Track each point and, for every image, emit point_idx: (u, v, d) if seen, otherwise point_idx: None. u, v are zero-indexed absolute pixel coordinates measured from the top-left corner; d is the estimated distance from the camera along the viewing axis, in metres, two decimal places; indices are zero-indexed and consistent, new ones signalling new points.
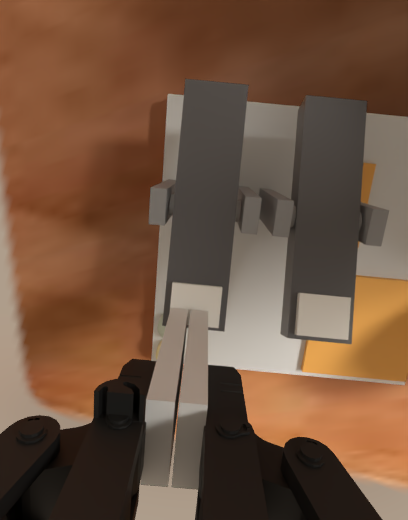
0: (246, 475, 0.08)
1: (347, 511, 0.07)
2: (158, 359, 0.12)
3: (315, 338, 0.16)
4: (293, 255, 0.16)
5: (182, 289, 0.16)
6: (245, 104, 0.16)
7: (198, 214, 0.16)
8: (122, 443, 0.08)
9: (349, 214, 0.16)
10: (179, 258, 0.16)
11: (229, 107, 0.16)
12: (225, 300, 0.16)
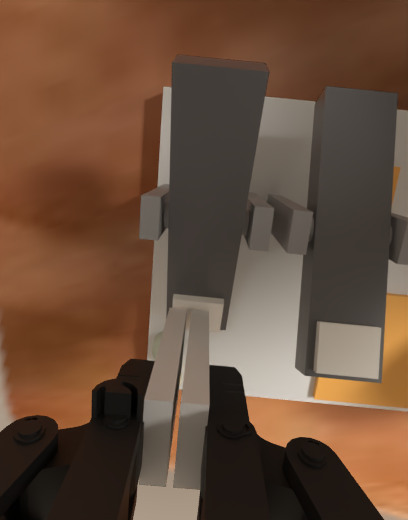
0: (248, 475, 0.08)
1: (349, 511, 0.07)
2: (156, 359, 0.12)
3: (338, 376, 0.13)
4: (311, 276, 0.14)
5: (182, 304, 0.16)
6: (262, 103, 0.11)
7: (197, 236, 0.14)
8: (120, 443, 0.08)
9: (378, 227, 0.14)
10: (178, 275, 0.15)
11: (238, 108, 0.11)
12: (227, 308, 0.16)
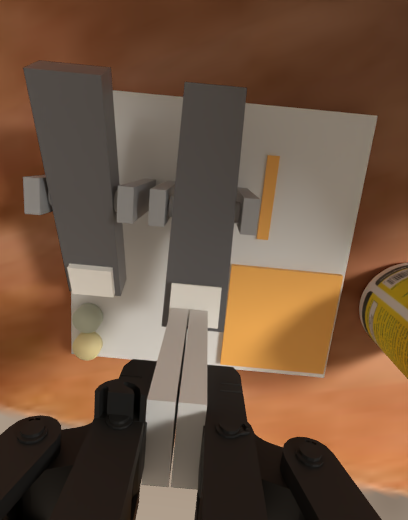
0: (245, 475, 0.08)
1: (346, 511, 0.07)
2: (159, 359, 0.12)
3: None
4: (169, 246, 0.16)
5: (76, 272, 0.19)
6: (101, 100, 0.14)
7: (77, 212, 0.17)
8: (123, 443, 0.08)
9: (225, 205, 0.16)
10: (69, 247, 0.18)
11: (84, 104, 0.14)
12: (117, 276, 0.19)
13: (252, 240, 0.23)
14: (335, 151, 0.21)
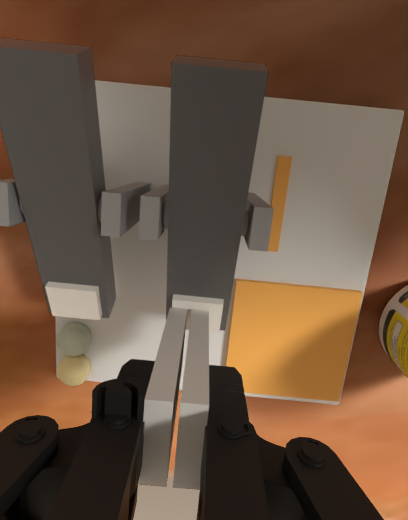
0: (248, 475, 0.08)
1: (349, 511, 0.07)
2: (157, 359, 0.12)
3: None
4: (167, 262, 0.15)
5: (56, 292, 0.16)
6: (79, 86, 0.11)
7: (55, 223, 0.14)
8: (120, 443, 0.08)
9: (229, 227, 0.14)
10: (47, 262, 0.15)
11: (56, 91, 0.11)
12: (104, 296, 0.16)
13: (260, 252, 0.20)
14: (355, 151, 0.19)
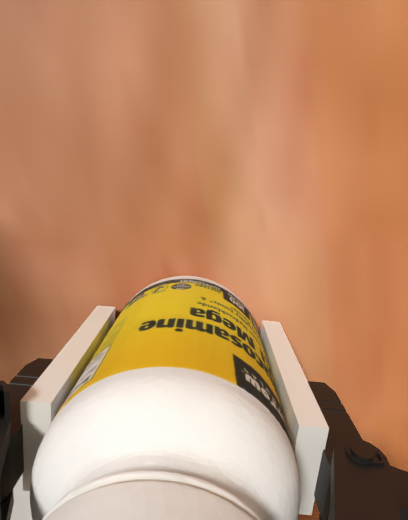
0: (381, 508, 0.07)
1: None
2: (56, 358, 0.11)
3: None
4: None
5: None
6: None
7: None
8: None
9: None
10: None
11: None
12: None
13: None
14: None
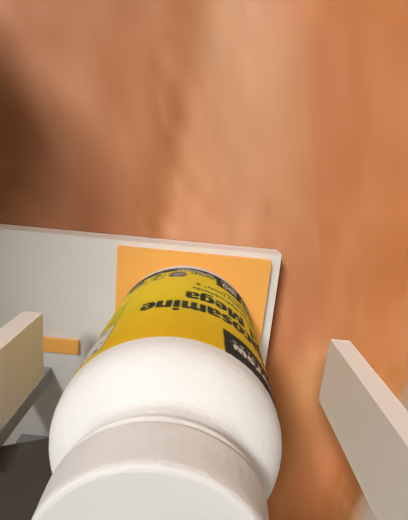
0: None
1: None
2: None
3: None
4: None
5: None
6: None
7: None
8: None
9: None
10: None
11: None
12: None
13: (82, 357, 0.18)
14: None
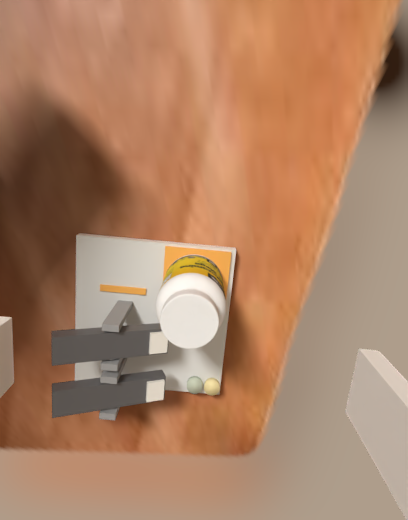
0: None
1: None
2: None
3: (167, 342, 0.37)
4: (132, 356, 0.36)
5: (149, 398, 0.38)
6: (62, 391, 0.34)
7: (115, 397, 0.37)
8: None
9: (112, 337, 0.35)
10: (135, 400, 0.38)
11: (64, 397, 0.35)
12: (152, 378, 0.38)
13: (147, 296, 0.40)
14: (95, 255, 0.39)
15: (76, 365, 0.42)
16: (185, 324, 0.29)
